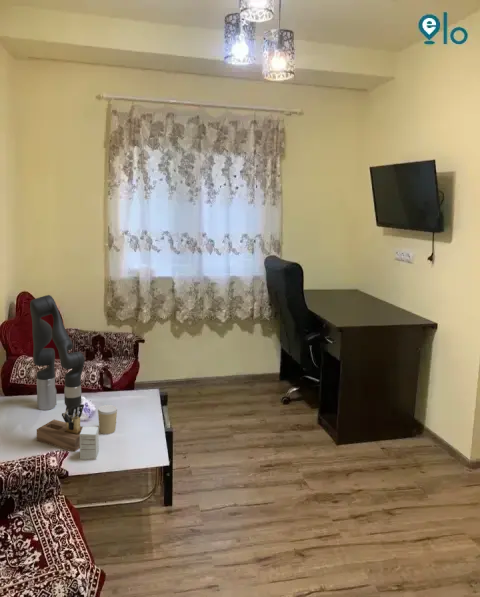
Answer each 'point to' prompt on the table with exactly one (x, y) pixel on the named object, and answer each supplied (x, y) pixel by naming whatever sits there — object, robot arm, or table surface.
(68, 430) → the yellow tan block
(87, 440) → the miniature drawer cabinet
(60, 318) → the robot arm
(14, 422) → the table surface
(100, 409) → the coffee cup
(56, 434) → the two-slot wooden tray
